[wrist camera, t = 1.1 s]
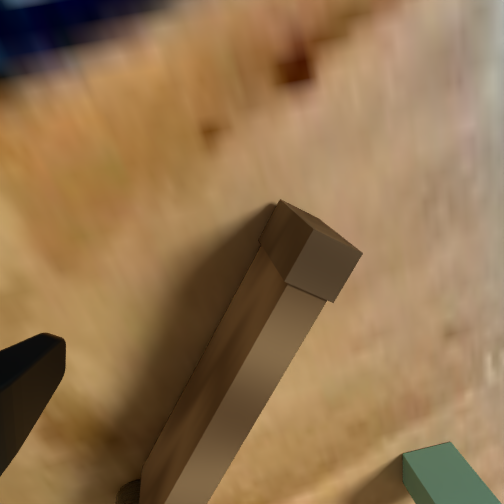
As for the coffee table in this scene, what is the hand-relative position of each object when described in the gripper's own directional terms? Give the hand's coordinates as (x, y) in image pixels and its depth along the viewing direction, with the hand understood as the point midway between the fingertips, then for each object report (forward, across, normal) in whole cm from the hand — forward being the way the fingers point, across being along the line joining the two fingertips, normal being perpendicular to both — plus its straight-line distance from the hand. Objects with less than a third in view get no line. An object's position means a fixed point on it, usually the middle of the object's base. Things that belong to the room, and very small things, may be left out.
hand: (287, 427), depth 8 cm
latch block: (+13, -11, +14) cm, 22 cm away
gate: (+9, +3, +9) cm, 13 cm away
